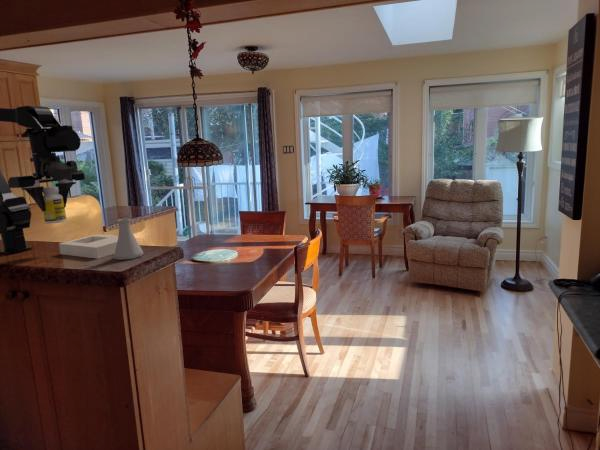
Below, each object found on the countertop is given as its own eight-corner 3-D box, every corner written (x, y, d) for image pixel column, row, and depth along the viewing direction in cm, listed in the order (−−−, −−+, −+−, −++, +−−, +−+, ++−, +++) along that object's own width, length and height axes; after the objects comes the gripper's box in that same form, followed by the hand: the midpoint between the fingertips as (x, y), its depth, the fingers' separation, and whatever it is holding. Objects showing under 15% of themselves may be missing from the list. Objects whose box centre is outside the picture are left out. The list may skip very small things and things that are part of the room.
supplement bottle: (58, 223, 122) (51, 188, 120) (40, 224, 123) (33, 189, 121) (71, 219, 127) (65, 185, 125) (54, 220, 128) (48, 186, 126)
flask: (133, 260, 111) (128, 221, 109) (108, 260, 113) (102, 222, 111) (148, 253, 118) (143, 216, 116) (124, 253, 120) (119, 217, 118)
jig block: (60, 254, 123) (59, 243, 123) (98, 243, 134) (97, 234, 133) (98, 258, 115) (96, 247, 115) (135, 247, 126) (133, 237, 125)
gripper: (25, 154, 109) (37, 216, 112) (92, 149, 125) (101, 204, 128) (1, 156, 115) (13, 215, 118) (68, 151, 130) (77, 204, 133)
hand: (54, 209), depth 124 cm, fingers closed on supplement bottle, 5 cm apart
